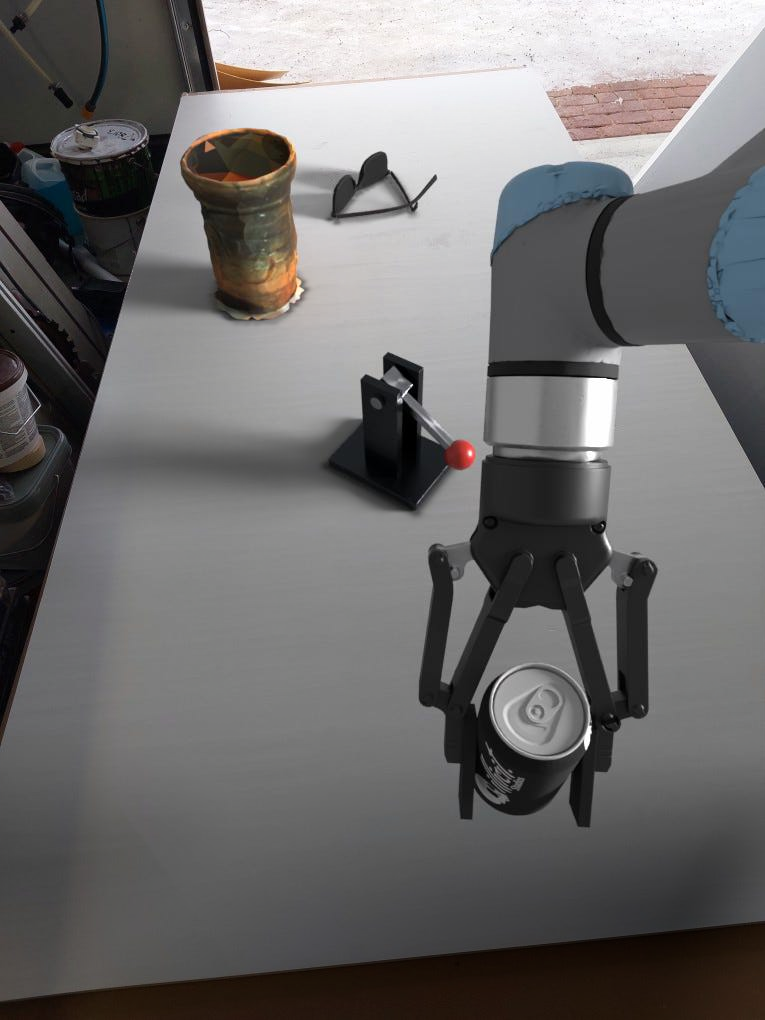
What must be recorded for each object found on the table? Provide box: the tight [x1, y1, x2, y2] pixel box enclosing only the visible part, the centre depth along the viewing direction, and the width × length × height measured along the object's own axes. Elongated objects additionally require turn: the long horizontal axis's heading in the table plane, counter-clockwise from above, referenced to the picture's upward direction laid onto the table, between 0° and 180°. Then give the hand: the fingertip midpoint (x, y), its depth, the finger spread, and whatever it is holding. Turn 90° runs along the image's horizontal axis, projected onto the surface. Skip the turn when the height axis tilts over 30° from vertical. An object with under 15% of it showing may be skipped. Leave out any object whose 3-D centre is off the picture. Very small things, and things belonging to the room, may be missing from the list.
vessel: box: [179, 127, 305, 321], centre depth 92 cm, size 14×14×20 cm
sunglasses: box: [330, 150, 438, 220], centre depth 111 cm, size 17×14×5 cm
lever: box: [379, 366, 476, 471], centre depth 71 cm, size 13×3×3 cm
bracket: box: [327, 351, 452, 512], centre depth 75 cm, size 12×9×14 cm
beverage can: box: [474, 661, 592, 817], centre depth 44 cm, size 7×7×12 cm
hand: (521, 810), depth 44 cm, fingers closed on beverage can, 7 cm apart
